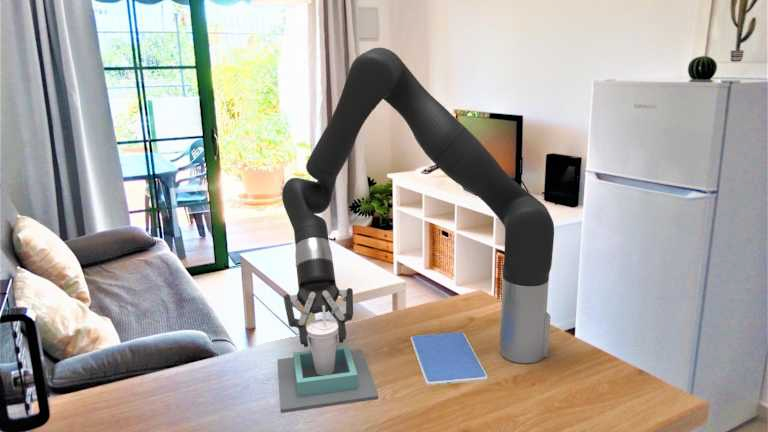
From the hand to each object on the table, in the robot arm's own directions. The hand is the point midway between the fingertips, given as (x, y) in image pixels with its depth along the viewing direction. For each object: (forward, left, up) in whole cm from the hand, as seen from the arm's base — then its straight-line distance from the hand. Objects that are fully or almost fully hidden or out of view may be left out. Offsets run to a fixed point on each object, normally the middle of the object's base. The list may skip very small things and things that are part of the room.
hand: (324, 343), depth 110 cm
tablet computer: (-26, -4, -10) cm, 28 cm away
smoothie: (0, -2, -7) cm, 7 cm away
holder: (0, -2, -9) cm, 9 cm away
